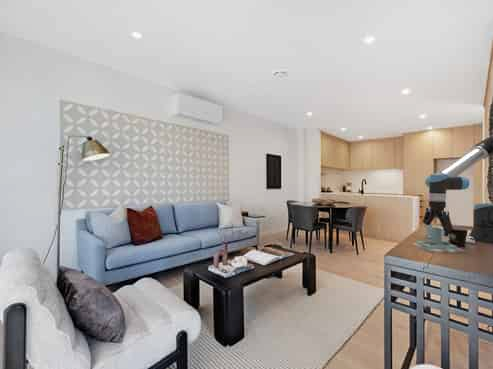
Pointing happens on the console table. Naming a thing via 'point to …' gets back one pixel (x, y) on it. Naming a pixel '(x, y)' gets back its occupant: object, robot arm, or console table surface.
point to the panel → (426, 244)
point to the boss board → (439, 249)
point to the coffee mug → (458, 236)
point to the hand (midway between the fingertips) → (436, 238)
